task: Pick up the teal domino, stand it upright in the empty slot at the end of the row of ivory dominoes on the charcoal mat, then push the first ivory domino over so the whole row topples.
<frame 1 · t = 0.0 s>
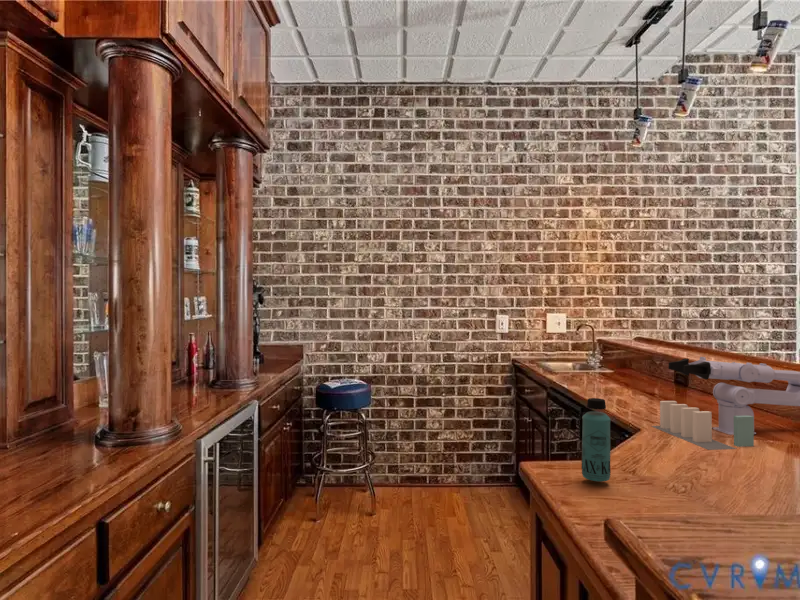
hand: (676, 367, 162), 22 cm above the worktop, fingers open, 7 cm apart
teal domino: (743, 446, 147), on the worktop
mat: (690, 437, 157), on the worktop
brick: (678, 422, 176), on the worktop, touching mat
ivory domino 1: (668, 427, 168), resting on mat
ivory domino 4: (702, 441, 151), resting on mat
ivory domino 3: (690, 436, 157), resting on mat
beverage bottle: (596, 484, 117), on the worktop
ivory domino 2: (679, 432, 162), resting on mat
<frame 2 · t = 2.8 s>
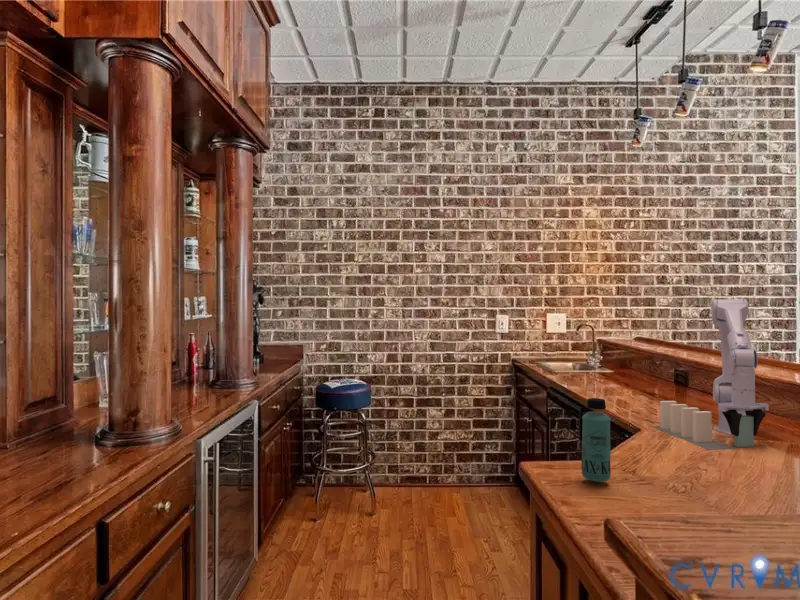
hand: (743, 435, 147), 3 cm above the worktop, fingers closed on teal domino, 5 cm apart
teal domino: (743, 446, 147), on the worktop, touching gripper
everything else where it was.
when the fingers open (4 cm above the worktop, at t = 6.3 s): teal domino stays where it is, resting on mat.
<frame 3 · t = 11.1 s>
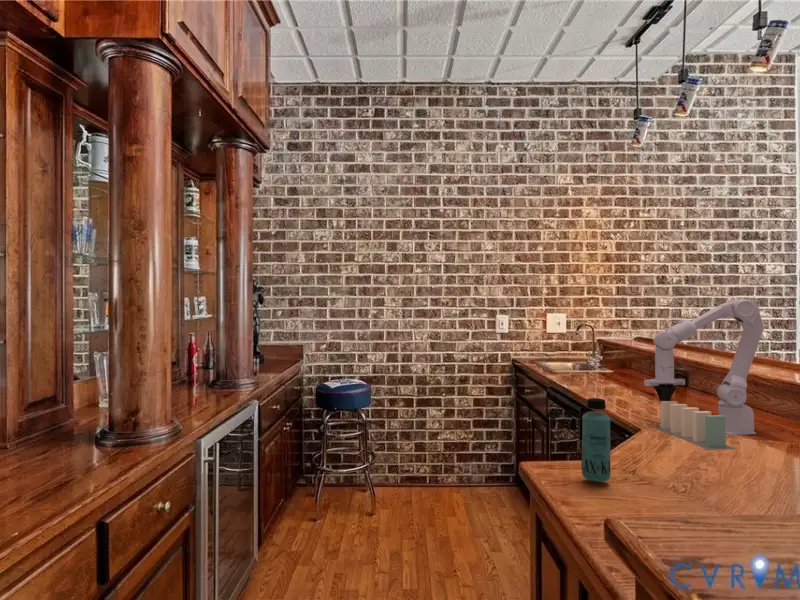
hand: (664, 406, 170), 7 cm above the worktop, fingers closed
teal domino: (715, 446, 146), resting on mat
ivory domino 1: (668, 427, 168), resting on mat, touching gripper
everything else where it was.
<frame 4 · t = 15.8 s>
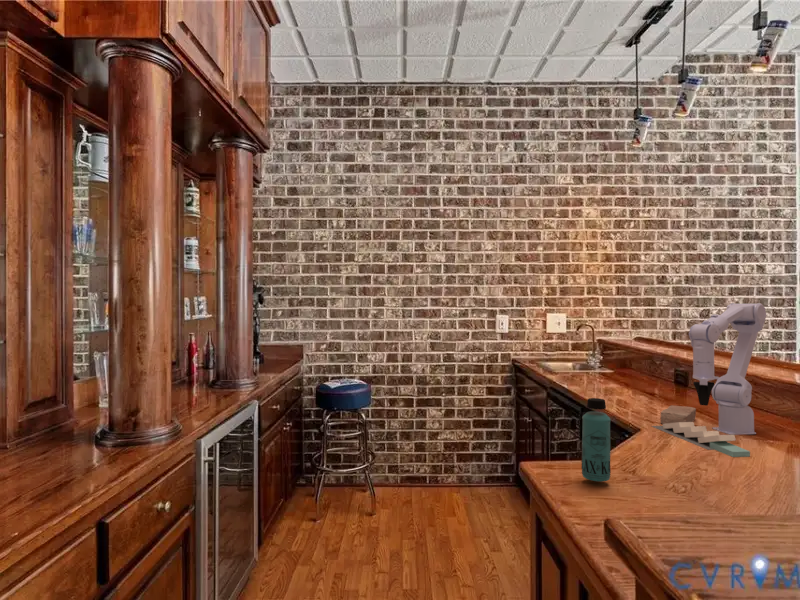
hand: (703, 405, 156), 10 cm above the worktop, fingers closed
teal domino: (717, 444, 145), point 1 cm above the worktop, tilted 92°, touching ivory domino 4, mat
ivory domino 1: (669, 426, 167), point 1 cm above the worktop, tilted 73°, touching ivory domino 2, mat
ivory domino 4: (705, 440, 150), point 1 cm above the worktop, tilted 71°, touching ivory domino 3, mat, teal domino
ivory domino 3: (691, 434, 156), point 1 cm above the worktop, tilted 74°, touching ivory domino 2, ivory domino 4, mat
ivory domino 2: (680, 430, 161), point 1 cm above the worktop, tilted 73°, touching ivory domino 1, ivory domino 3, mat
everything else where it was.
at the end: teal domino inside the target area on the mat (1.0 cm from its centre), point 1.2 cm above the mat's base; teal domino tilted 92°; ivory domino 4 tilted 71° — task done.
